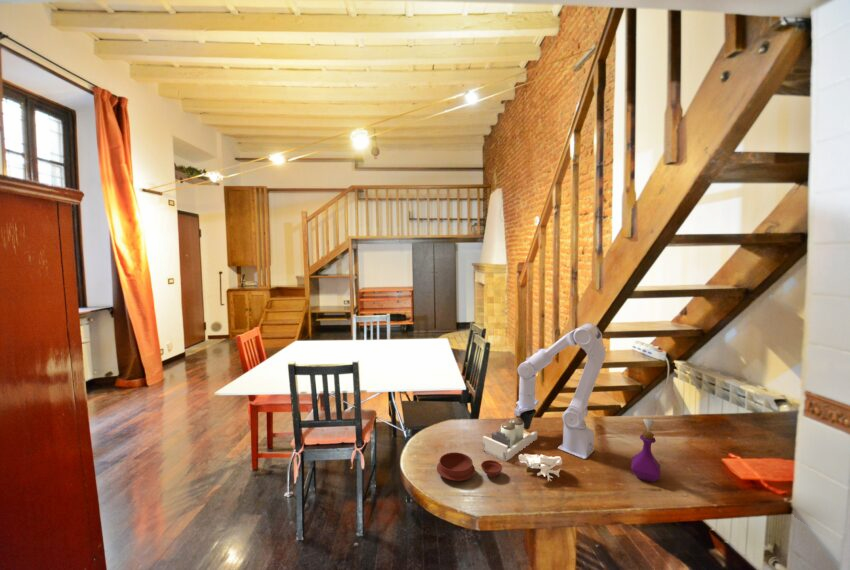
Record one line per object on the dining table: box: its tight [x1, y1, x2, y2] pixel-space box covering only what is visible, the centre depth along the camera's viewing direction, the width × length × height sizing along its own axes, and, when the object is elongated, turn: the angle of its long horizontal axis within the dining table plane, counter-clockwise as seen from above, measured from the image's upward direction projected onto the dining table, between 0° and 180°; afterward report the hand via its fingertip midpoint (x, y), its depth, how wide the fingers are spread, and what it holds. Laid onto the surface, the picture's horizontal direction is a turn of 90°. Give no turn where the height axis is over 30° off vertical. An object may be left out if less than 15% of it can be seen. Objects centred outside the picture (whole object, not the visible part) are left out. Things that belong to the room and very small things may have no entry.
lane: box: [482, 429, 538, 462], centre depth 130 cm, size 9×21×5 cm, turn 135°
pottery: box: [436, 452, 503, 482], centre depth 112 cm, size 12×20×4 cm, turn 89°
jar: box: [509, 417, 525, 443], centre depth 132 cm, size 5×5×7 cm
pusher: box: [491, 430, 510, 449], centre depth 125 cm, size 7×1×6 cm, turn 45°
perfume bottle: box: [631, 418, 662, 483], centre depth 111 cm, size 8×8×18 cm
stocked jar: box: [500, 421, 516, 447], centre depth 128 cm, size 5×5×7 cm
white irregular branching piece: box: [518, 453, 563, 482], centre depth 113 cm, size 12×7×12 cm
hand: (526, 428), depth 137 cm, fingers closed
